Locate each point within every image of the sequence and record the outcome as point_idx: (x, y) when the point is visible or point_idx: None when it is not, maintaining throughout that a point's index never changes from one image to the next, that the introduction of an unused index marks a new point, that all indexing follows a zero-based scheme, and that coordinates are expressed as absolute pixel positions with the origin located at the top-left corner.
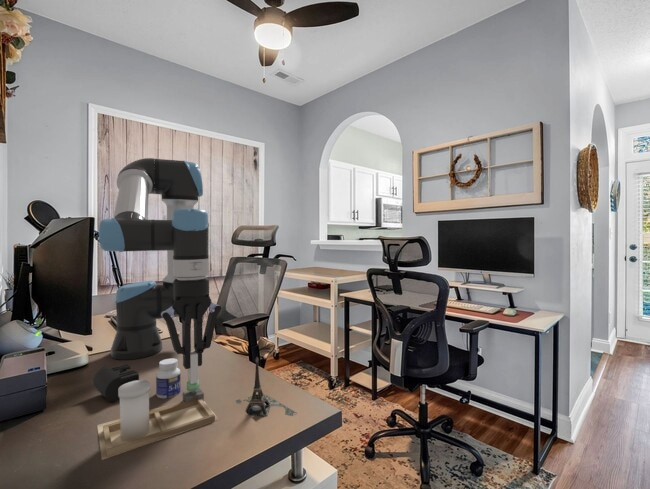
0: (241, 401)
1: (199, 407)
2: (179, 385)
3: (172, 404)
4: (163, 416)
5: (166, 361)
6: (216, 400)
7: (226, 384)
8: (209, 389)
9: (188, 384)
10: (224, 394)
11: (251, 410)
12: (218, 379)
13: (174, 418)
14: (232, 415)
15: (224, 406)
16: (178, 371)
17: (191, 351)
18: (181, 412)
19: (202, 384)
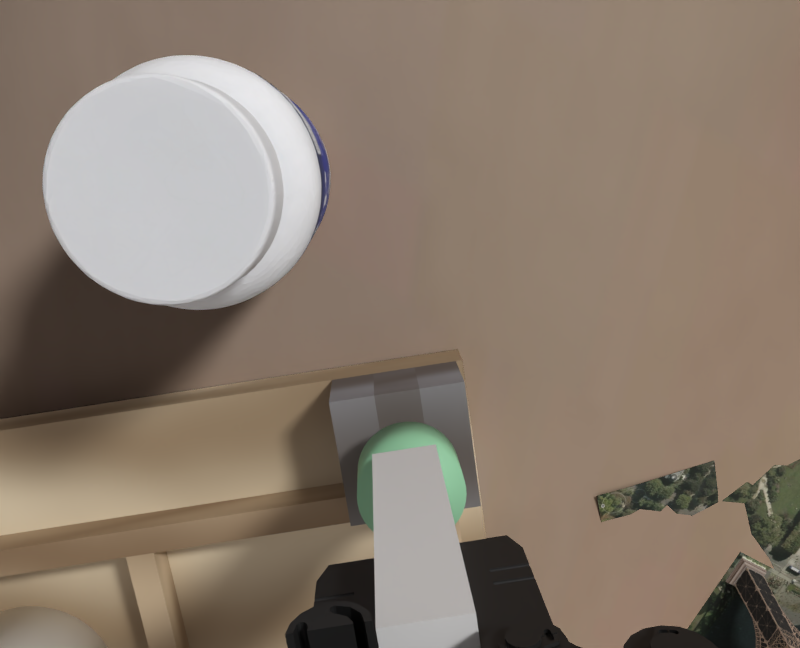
0: (714, 501)
1: None
2: (314, 233)
3: (255, 409)
4: (193, 550)
5: (133, 188)
6: (566, 402)
7: (714, 157)
8: (563, 184)
9: (368, 525)
10: (644, 336)
11: (725, 640)
12: (685, 3)
13: (261, 607)
14: (604, 641)
15: (592, 513)
16: (295, 247)
17: (431, 640)
18: (308, 554)
19: (531, 43)
